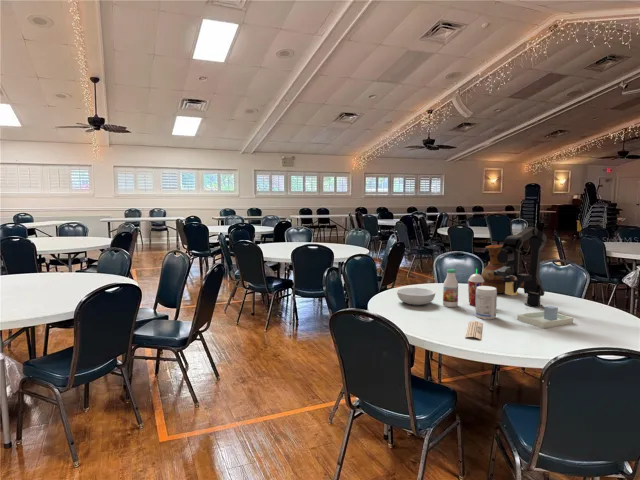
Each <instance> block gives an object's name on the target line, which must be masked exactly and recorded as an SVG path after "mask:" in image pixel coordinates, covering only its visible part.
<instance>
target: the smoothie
mask: <svg viewBox="0 0 640 480" xmlns="http://www.w3.org/2000/svg"><path fill="white" fill-rule="evenodd" d="M481 275H482V274H480V273H478V268H476V269H475V273H473V274H471V275H470V276H469V278H468V279H467V284H468V285H467V286H468V289H467V290H468V302H469V305H470V306H472V307H473V306H475V307H476V287H478V286H484V279H483V277H482V276H481Z"/></svg>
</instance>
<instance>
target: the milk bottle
mask: <svg viewBox="0 0 640 480" xmlns="http://www.w3.org/2000/svg"><path fill="white" fill-rule="evenodd" d="M456 272H457V271H456V269H455V268H454V269H453V268H447V270H446V274H447V275H446V278H445V280H443V281H444V282H443V290H442V293H443V295H442V306H444V307H447V308H456V307H458V306H459V282H458V280H457V277H456Z"/></svg>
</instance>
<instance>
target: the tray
mask: <svg viewBox="0 0 640 480" xmlns="http://www.w3.org/2000/svg"><path fill="white" fill-rule="evenodd" d="M516 320H517V321H519V322H523V323H526V324H529V325H531V326H535V327H538V328H541V329H548V328H552V327H558V326H563V325H569V324H574V317H572V316H567V315H565V314H561V313H558V316H557V320H552V321H550V320H547V319H544V310H540V311H535V312H534V311H533V312H527V313H520V314H517V316H516Z"/></svg>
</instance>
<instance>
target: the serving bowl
mask: <svg viewBox="0 0 640 480" xmlns="http://www.w3.org/2000/svg"><path fill="white" fill-rule="evenodd" d="M396 295H397V297H398V298H399V301H401V302H403V303H405V304H408V305H411V304H412V305H411V306H423V305H427V304H430V303H432V301H434V299H435V297H436V292H435V290H432V289H428V288H423V287H404V288H400V289H397V290H396Z"/></svg>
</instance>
